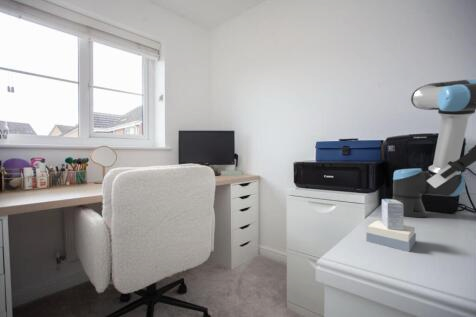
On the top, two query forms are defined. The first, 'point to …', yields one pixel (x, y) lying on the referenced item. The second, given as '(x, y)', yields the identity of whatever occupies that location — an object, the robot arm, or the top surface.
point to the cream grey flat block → (391, 236)
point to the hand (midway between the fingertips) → (433, 183)
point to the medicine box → (392, 214)
